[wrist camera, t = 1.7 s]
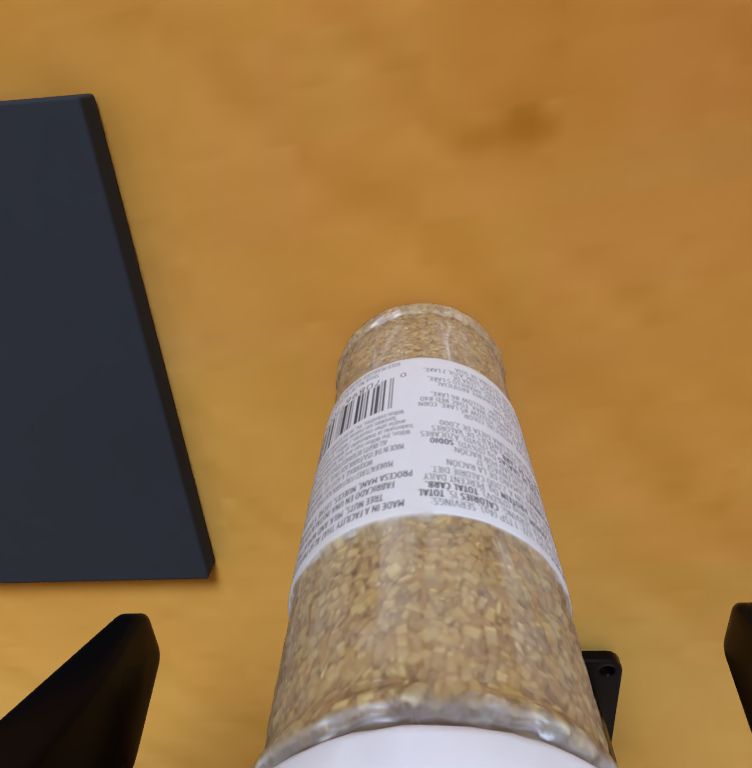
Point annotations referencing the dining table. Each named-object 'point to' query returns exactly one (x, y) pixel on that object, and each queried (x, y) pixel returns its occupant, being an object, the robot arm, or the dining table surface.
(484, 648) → the spice jar
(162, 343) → the dining table surface
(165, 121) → the dining table surface
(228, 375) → the dining table surface
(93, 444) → the desk mat
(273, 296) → the dining table surface
